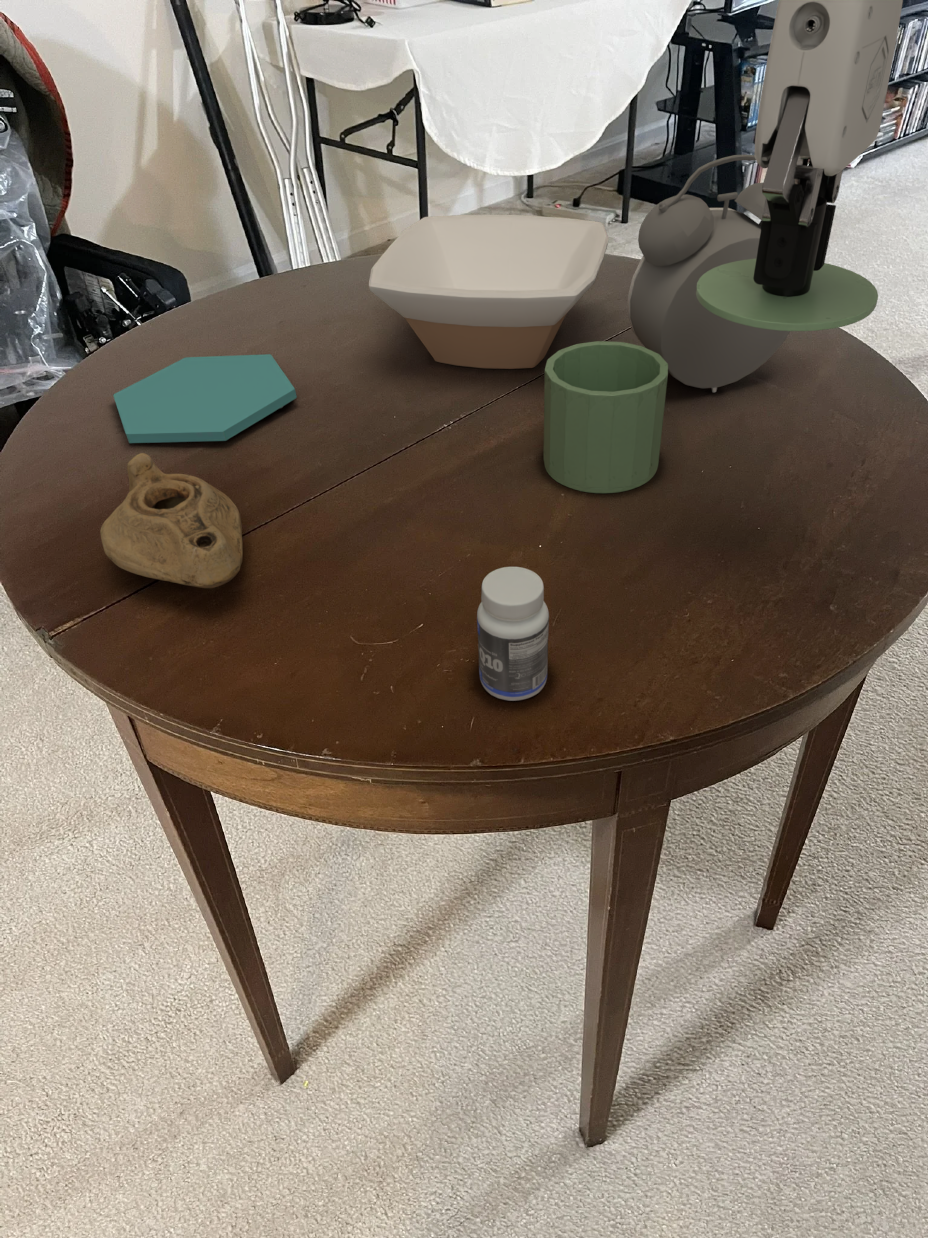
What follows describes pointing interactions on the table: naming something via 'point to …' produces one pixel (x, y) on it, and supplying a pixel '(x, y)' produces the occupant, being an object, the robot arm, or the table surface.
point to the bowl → (489, 283)
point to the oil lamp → (174, 528)
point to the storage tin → (603, 415)
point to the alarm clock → (667, 279)
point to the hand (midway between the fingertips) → (788, 273)
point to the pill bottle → (513, 634)
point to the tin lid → (789, 294)
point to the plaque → (203, 399)
